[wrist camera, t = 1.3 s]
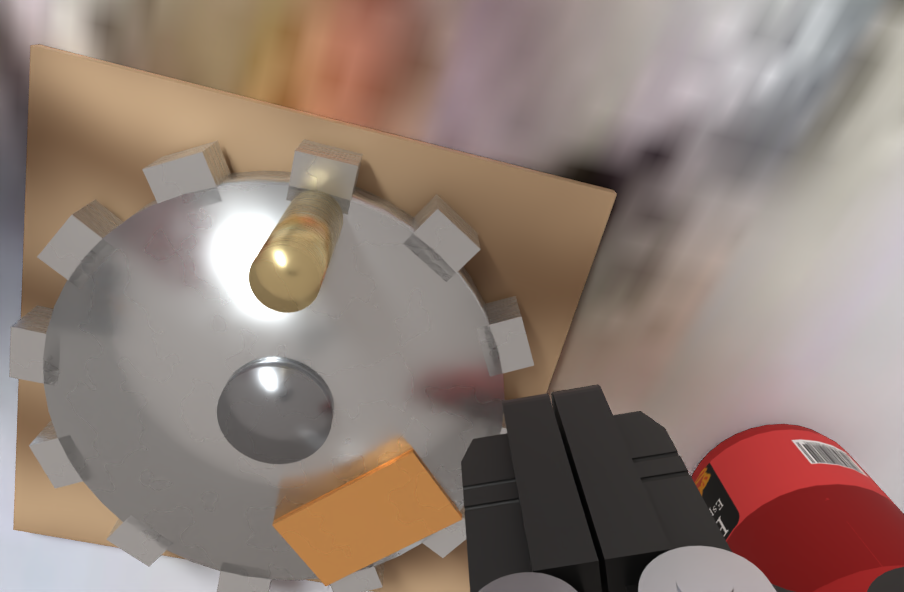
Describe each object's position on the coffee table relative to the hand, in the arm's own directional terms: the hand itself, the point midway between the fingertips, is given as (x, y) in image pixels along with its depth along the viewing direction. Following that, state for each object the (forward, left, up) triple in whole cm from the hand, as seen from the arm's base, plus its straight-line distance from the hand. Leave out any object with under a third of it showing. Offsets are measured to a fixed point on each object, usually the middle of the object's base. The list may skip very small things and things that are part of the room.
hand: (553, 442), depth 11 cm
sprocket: (+10, -6, -19) cm, 22 cm away
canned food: (+11, +17, -19) cm, 28 cm away
